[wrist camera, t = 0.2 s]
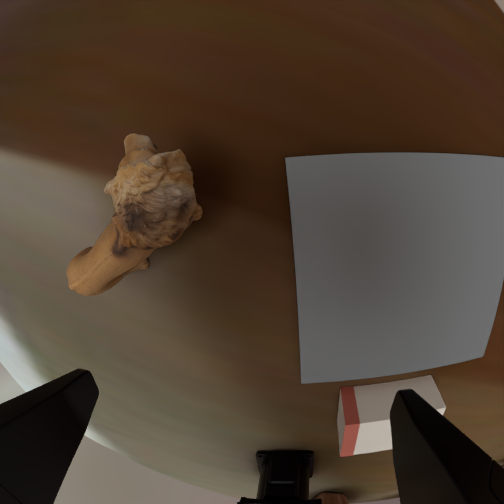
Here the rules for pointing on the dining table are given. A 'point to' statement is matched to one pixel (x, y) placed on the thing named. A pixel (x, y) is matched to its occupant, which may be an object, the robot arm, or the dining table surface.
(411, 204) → the mat
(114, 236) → the lion figurine
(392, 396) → the beige rectangular block
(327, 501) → the cupcake
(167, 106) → the dining table surface
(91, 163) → the dining table surface
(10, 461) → the robot arm
